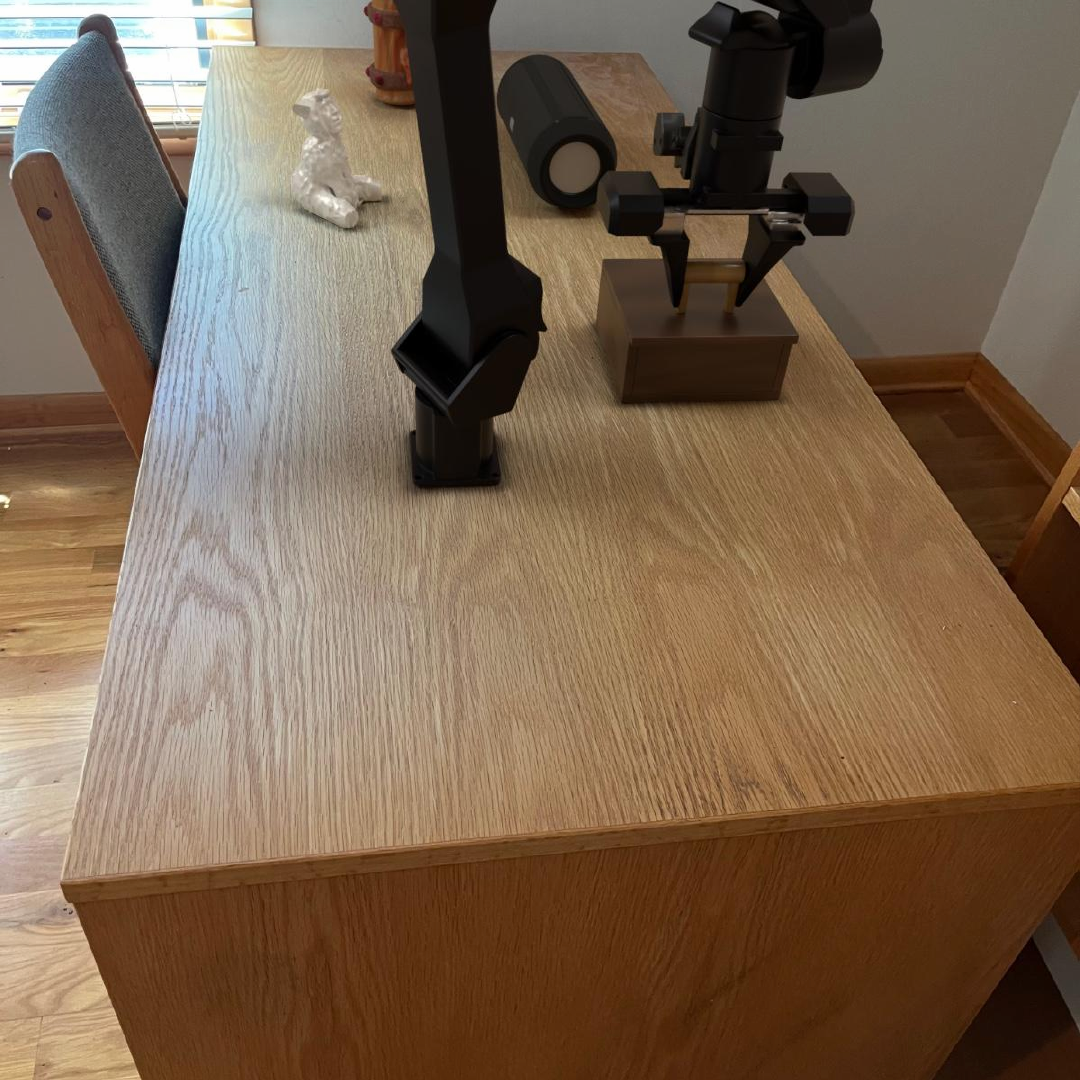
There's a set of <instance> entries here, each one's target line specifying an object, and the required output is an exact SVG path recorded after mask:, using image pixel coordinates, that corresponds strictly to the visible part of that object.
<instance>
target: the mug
mask: <svg viewBox="0 0 1080 1080" xmlns="http://www.w3.org/2000/svg"><path fill="white" fill-rule="evenodd" d="M363 13H364V15H365V16H366V17H367V18H368V20H369V22H370V23H371V24H372V35H373V51H374V52H373V53H374V57H373V58H374V62H372V63H371V64H370V65H369V66H367V68H366V69H365V74H366V76H367V77H368V78H369V80H370V81H369V82H370V83H371V84H372V85H373V86H374V87H375V92H376V95H377V98H378V100H379V101H381V102H382V103H385V104H388V105H392V106H395V105H397V106H405V105H406V106H407V105H409V106H410V105H415V102H414V95H413V87H412V80H411V73H410V66H409V59H408V52H407V44H406V37H405V30H404V26H403V23H402V20H401V17H400V15H399V13H398V11H397V9H396V6H395V4H394V2H393V0H371V1H369V2H368V3H367V5H366V6H364V7H363Z"/></svg>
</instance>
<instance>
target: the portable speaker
mask: <svg viewBox="0 0 1080 1080" xmlns="http://www.w3.org/2000/svg"><path fill="white" fill-rule="evenodd" d="M496 106H497V107H496V108H497V111H498V114H499V116H500V119H501V120H502V122H503V125H505V128H506V131H507V133H508V135H509V137H510V139H511V142H512V144H513V146H514V148H515V151H516V154H517V156H518V158H519V160H520V161H521V162H520V163H521V164H522V166H523V169H524V172H525V173H526V176H527V178H528V181H529V183H530V186H531V188H532V190H533V191H534V193H535V194H536V195H537V196H538V197H539V198H540V199H541V200H542V201H543V202H545V203H546V204H549V205H550V206H552V207H556V208H558V209H564V210H568V211H579V210H583V209H586V208H589V207H591V206H593V205H596V202H597V192H598V183H599V181H600V179H601V178H602V177H603V176H604V175H605V174H606V172H607V171H617V167H618V151H617V145H616V143H615V140H614V138H613V136H612V134H611V133H610V131H609V129H608V128H607V125H606V124H605V123H604V121H603V120H602V118H601V116H600V114H598V112H597V110H596V109H595V108H594V105H593V103H592V102H591V101H590V99H589V98H588V96H587V95H586V93H585V91H584V90H583V88H582V87H581V85H580V84H579V82H578V80H577V79H576V78H575V76H574V75H573V73H572V72H571V70H570V69H569V68H568V67H567V66H566V64H565V63H563V62H562V61H561V60H559V59H558V58H556V57H553V56H551V55H549V54H537V53H536V54H530V55H527V56H524V57H521V58H519V59H518V60H516V61H515V62H513V63H512V64H511V65H510V66H509V67H508V68H507V69H506V70H505V72H504V73H503V74H502V77H501V79H500V81H499V84H498V87H497V93H496Z"/></svg>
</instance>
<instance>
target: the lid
mask: <svg viewBox="0 0 1080 1080" xmlns="http://www.w3.org/2000/svg"><path fill="white" fill-rule="evenodd" d="M741 259H742V257H706V258H705V257H704V258H702V257H697V258H696V257H695V258H691V257H690V258H689V257H688V260H687V267H686V274H685V281H684V288H683V295H682V298H681V301H680V304H679V307H678V308H674V307H673V305H672V303H671V299H670V294H669V288H668V283H667V278H666V272H665V267H664V262H663V258H602V261H601V269H602V268H603V271H604V274H605V276H606V279H607V282H608V284H609V287H610V290H611V292H612V295H613V298H614V300H615V303H616V306H617V309H618V311H619V314H620V317H621V319H622V322H623V325H624V327H625V330H626V333H627V335H628V338H629V341H630V343H631V346H686V345H747V344H793V345H796V344H798V342H799V339H800V334H799V332H798V330H797V329H796V327H795V326H794V324H793V322H792V321H791V319H790V318H789V316H788V314H787V312H786V311H785V310H784V308H783V306H782V305H781V303H780V301H779V299H778V298H777V296H776V294H775V293H774V291H773V290H772V288H771V287H770V285H769V284H768V282H767V280H766V278H765V277H764V278H763V279H762V281H761V282H760V283H759V284H758V286H757V287H756V288H755V289H754V291H753V292H752V293H751V294H750V296H749V297H748V298H747V299H746V301H745V302H744V303H743V305H742V306H741V307H736V306H735V302H736V297H737V292H738V288H739V283H742V282H743V281H744V279H745V274H746V266H745V262H744V260H741Z"/></svg>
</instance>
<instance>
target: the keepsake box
mask: <svg viewBox="0 0 1080 1080" xmlns="http://www.w3.org/2000/svg"><path fill="white" fill-rule="evenodd" d="M595 328H596V331H597V334H598V338H599V340H600V343H601V346H602V349H603V353H604V355H605V359H606V361H607V362H606V363H607V364H608V368H609V371H610V374H611V377H612V379H613V383H614V385H615V389H616V392H617V395H618V398H619V401H620V403H621V404H640V403H641V404H645V403H683V402H684V403H686V402H688V403H689V402H725V401H726V402H728V401H764V400H765V401H768V400H769V401H770V400H773V401H774V400H779V399H780V396H781V391H782V388H783V384H784V380H785V376H786V372H787V368H788V364H789V360H790V357H791V352H792V348H793V345H794V344H747V345H686V346H631V343H630V341H629V338H628V335H627V333H626V330H625V327H624V325H623V322H622V319H621V317H620V314H619V311H618V309H617V306H616V303H615V300H614V298H613V295H612V292H611V290H610V287H609V284H608V282H607V279H606V276H605V274H604V271H603V268H602V267H601V271H600V279H599V289H598V299H597V308H596V318H595Z"/></svg>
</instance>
